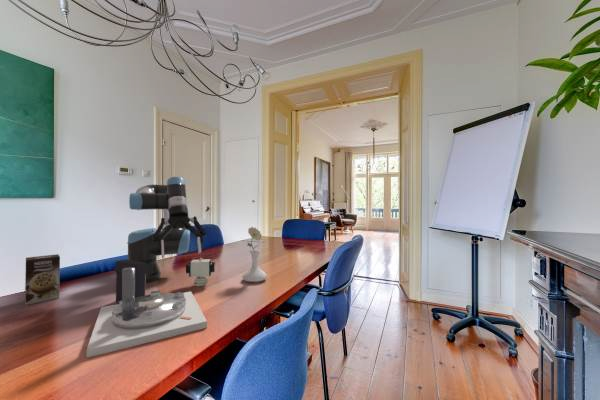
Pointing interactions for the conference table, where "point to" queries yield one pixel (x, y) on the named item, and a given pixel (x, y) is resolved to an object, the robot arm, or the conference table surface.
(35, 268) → the brown food box
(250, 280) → the flower in vase
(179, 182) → the robot arm
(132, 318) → the round disc with peg
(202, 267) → the pneumatic valve
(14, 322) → the conference table surface
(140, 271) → the black upright block
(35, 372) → the conference table surface
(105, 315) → the base plate
